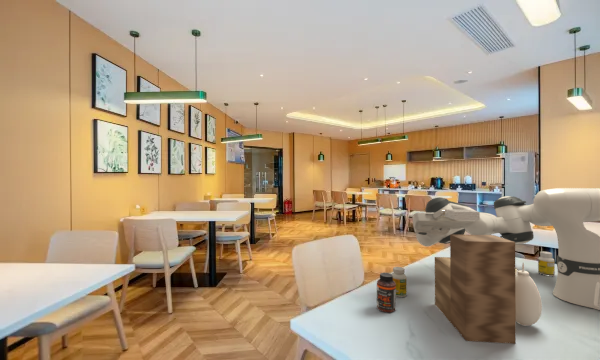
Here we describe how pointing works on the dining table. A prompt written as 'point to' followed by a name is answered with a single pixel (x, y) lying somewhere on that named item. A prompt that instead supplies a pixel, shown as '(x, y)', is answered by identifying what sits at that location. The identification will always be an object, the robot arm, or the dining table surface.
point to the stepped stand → (478, 287)
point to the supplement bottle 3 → (546, 264)
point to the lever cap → (462, 214)
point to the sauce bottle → (527, 299)
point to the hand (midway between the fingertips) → (450, 211)
